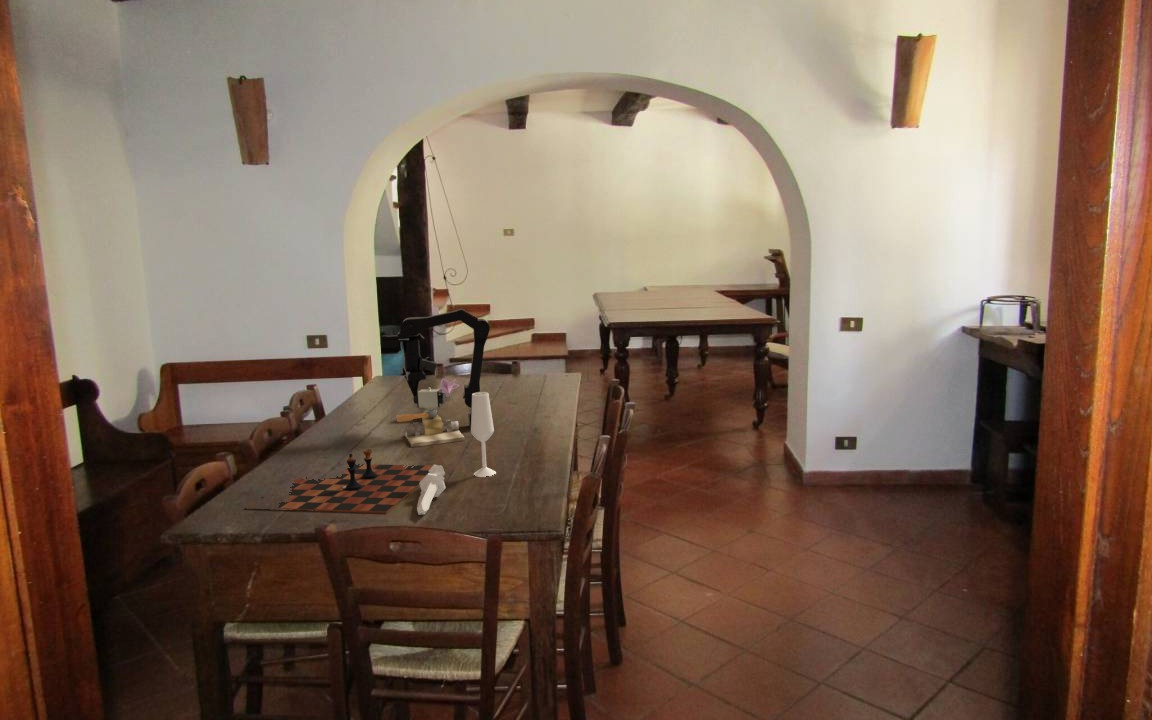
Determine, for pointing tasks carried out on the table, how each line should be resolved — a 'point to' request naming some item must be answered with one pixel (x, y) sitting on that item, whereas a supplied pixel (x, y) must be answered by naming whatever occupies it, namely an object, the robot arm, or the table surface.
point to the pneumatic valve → (430, 399)
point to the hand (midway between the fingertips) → (414, 395)
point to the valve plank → (435, 438)
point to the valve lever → (415, 416)
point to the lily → (448, 386)
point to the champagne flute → (482, 427)
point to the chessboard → (357, 488)
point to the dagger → (430, 488)
